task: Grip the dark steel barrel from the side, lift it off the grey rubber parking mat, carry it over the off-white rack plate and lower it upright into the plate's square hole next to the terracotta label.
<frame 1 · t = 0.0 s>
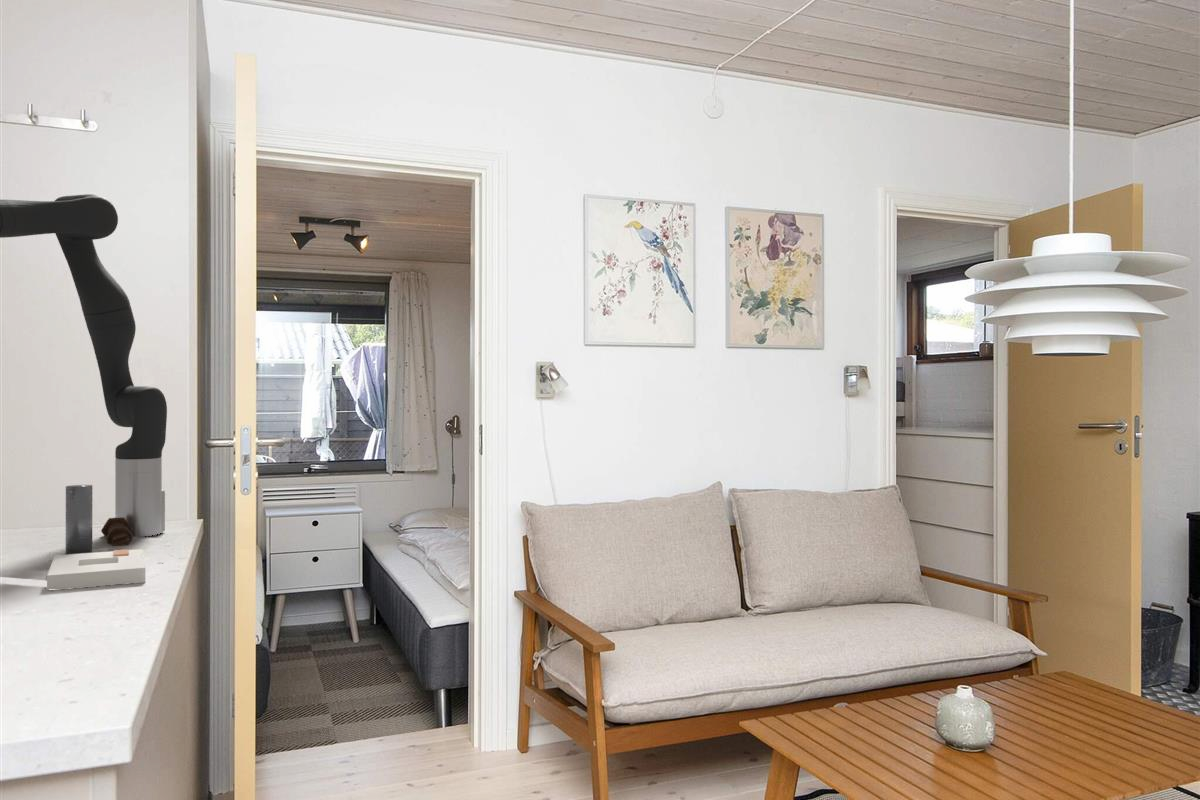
parking mat: (79, 559, 168), on the table
rack plate: (98, 575, 153), on the table
bolt: (117, 547, 185), on the table
steel barrel: (79, 554, 168), point 1 cm above the table, touching parking mat
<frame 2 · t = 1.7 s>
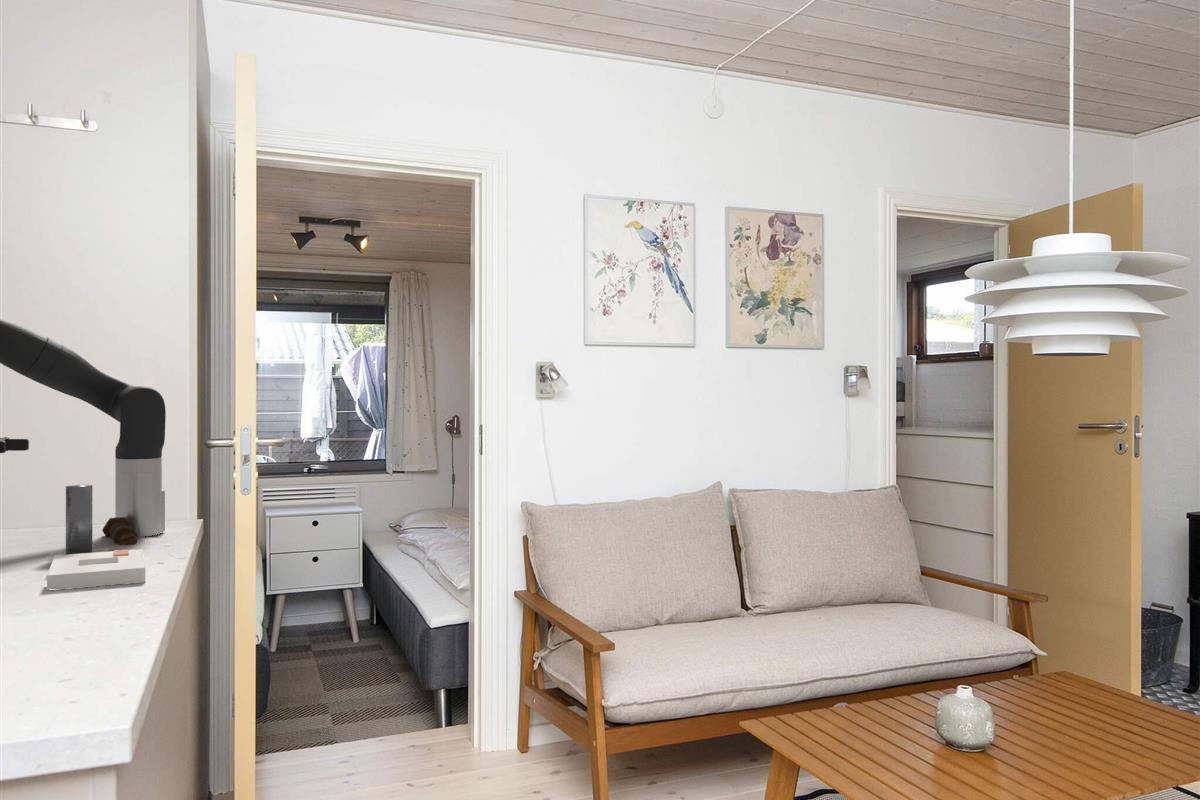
hand: (16, 445, 167), 22 cm above the table, tool horizontal, fingers open, 8 cm apart
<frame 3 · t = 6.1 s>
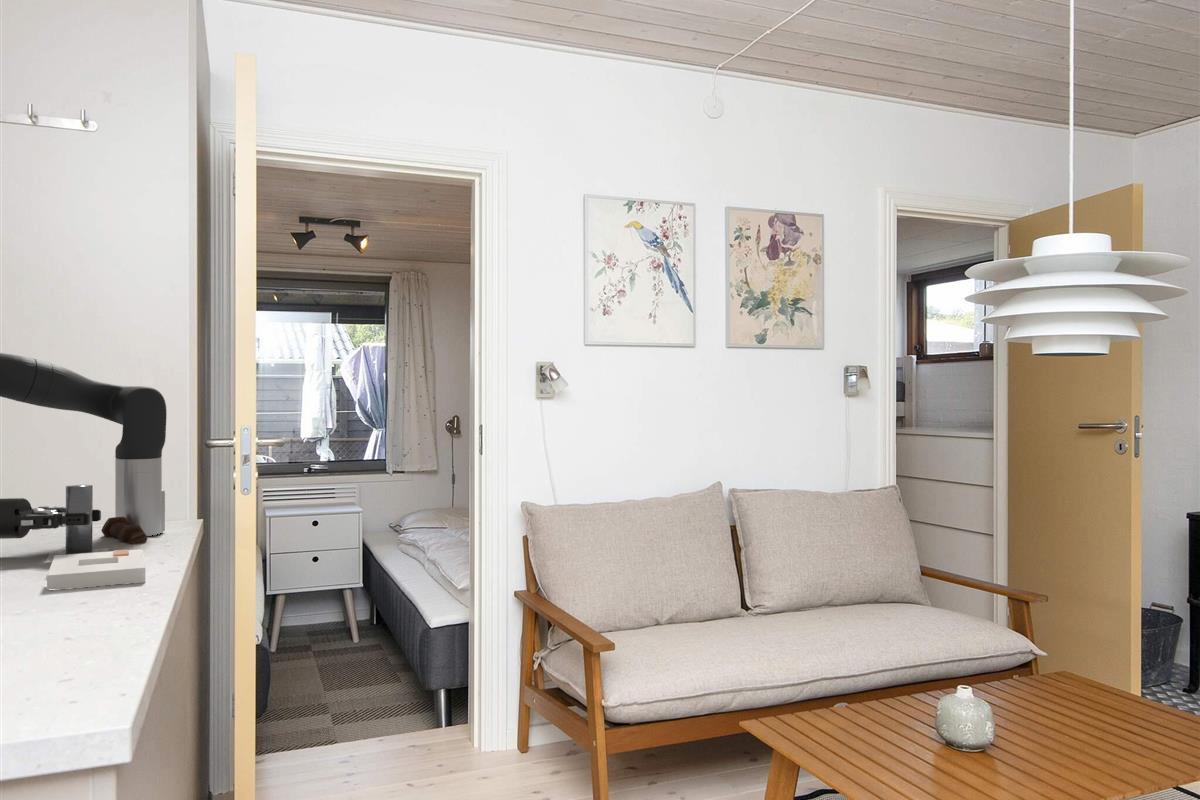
hand: (94, 517, 169), 8 cm above the table, tool horizontal, fingers closed on steel barrel, 4 cm apart
steel barrel: (79, 554, 168), point 1 cm above the table, touching gripper, parking mat
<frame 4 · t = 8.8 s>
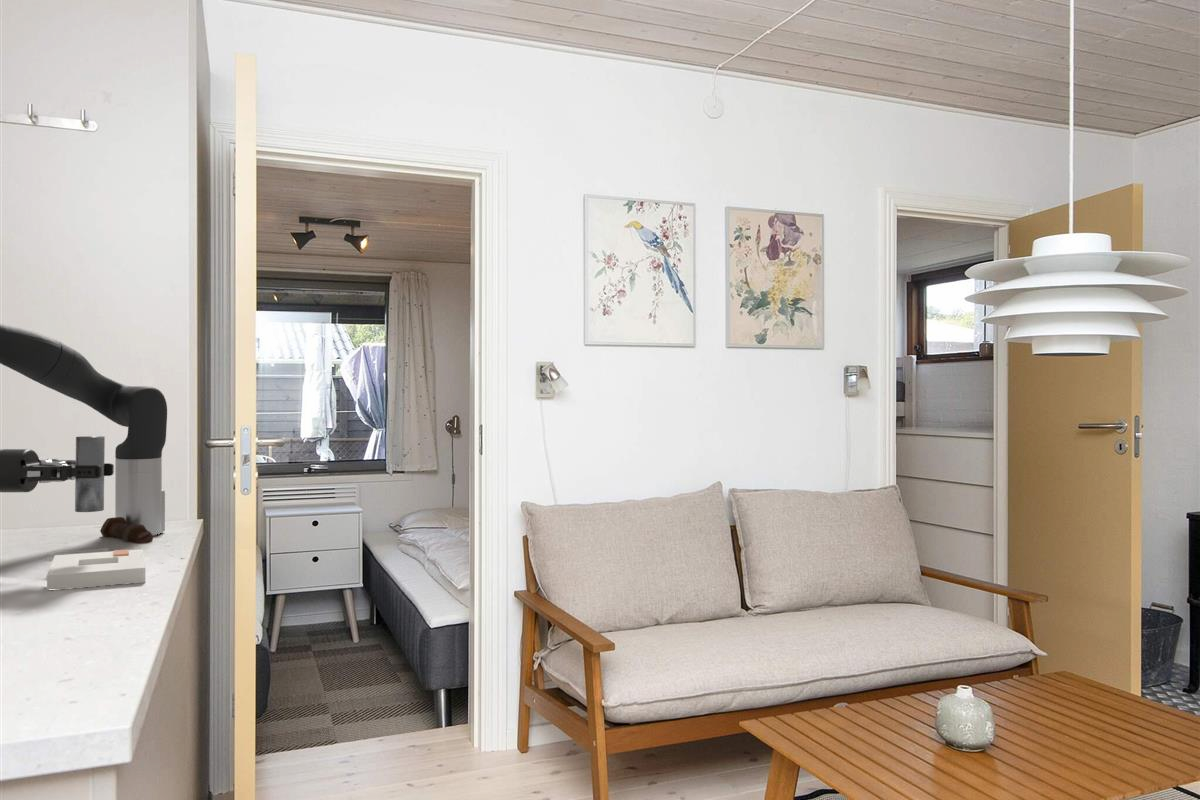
hand: (106, 470, 156), 18 cm above the table, tool horizontal, fingers closed on steel barrel, 4 cm apart
steel barrel: (89, 510, 155), point 11 cm above the table, touching gripper
when the fingers open (8 cm above the table, at t = 11.8 s): steel barrel drops 1 cm, resting in rack plate.
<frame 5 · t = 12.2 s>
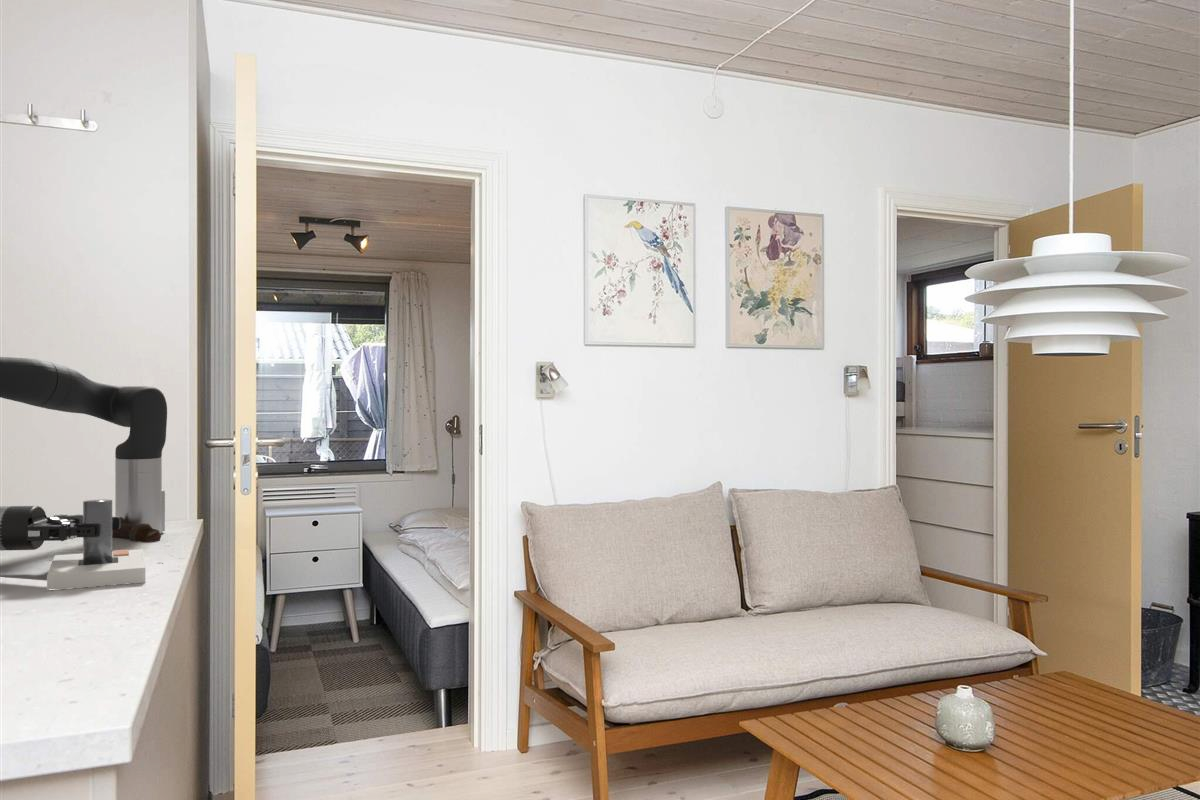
hand: (110, 526, 154), 9 cm above the table, tool horizontal, fingers open, 8 cm apart
steel barrel: (97, 575, 153), resting in rack plate
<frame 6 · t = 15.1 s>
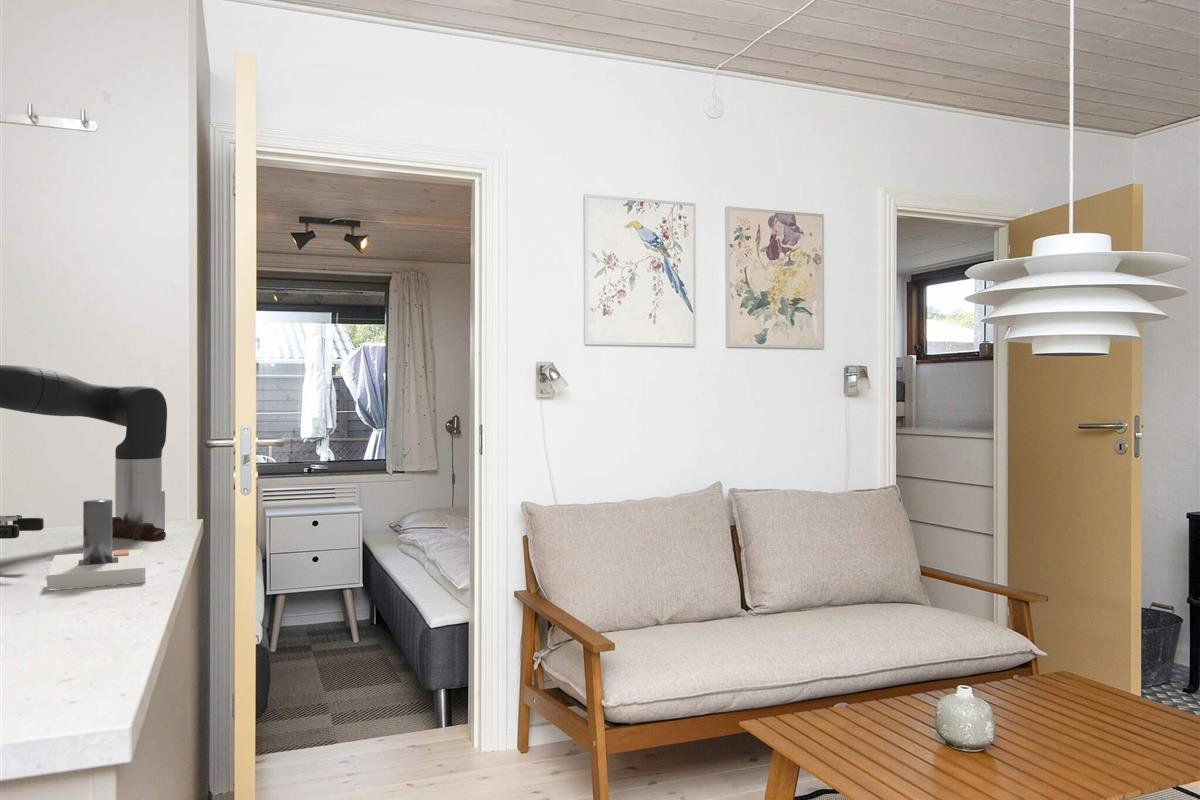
hand: (30, 527, 152), 9 cm above the table, tool horizontal, fingers open, 8 cm apart
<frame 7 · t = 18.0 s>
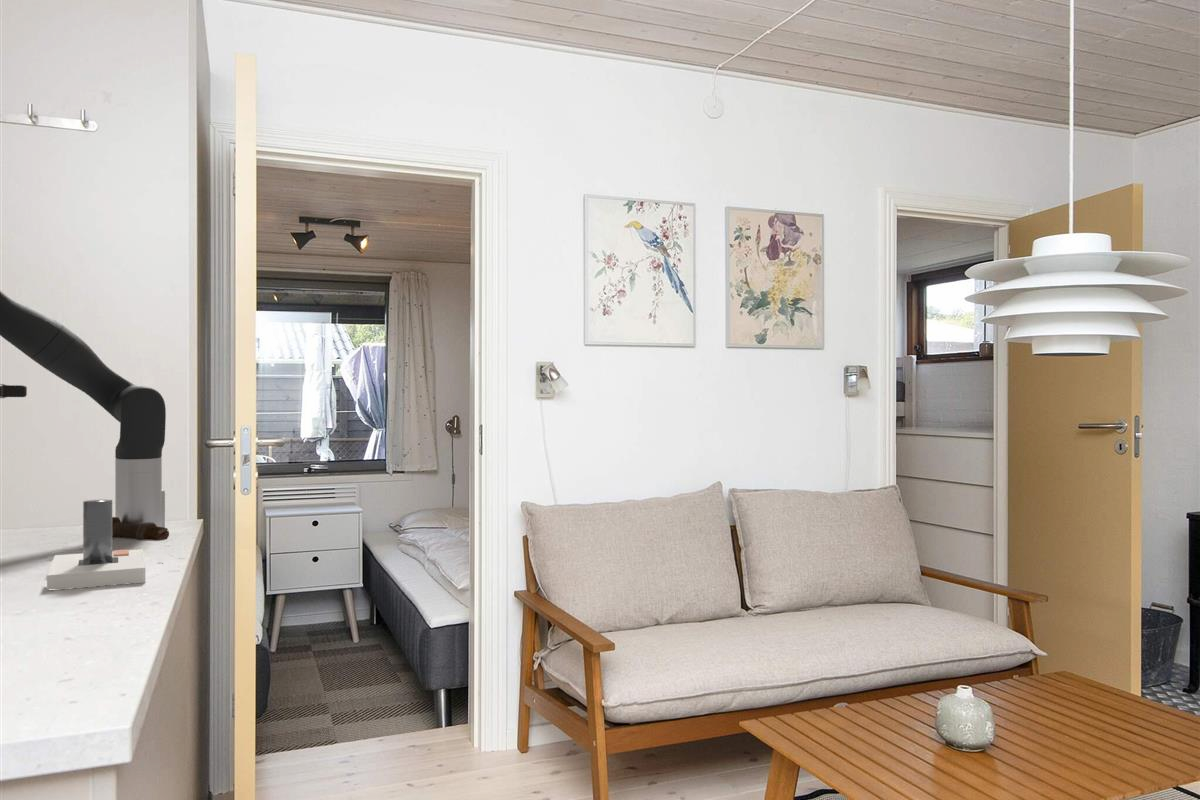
hand: (14, 391, 162), 32 cm above the table, tool horizontal, fingers open, 8 cm apart
at the end: steel barrel 0.1 cm off-centre on the rack plate, point 0.0 cm above the rack plate's base; steel barrel tilted 0°; the gripper is holding nothing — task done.
